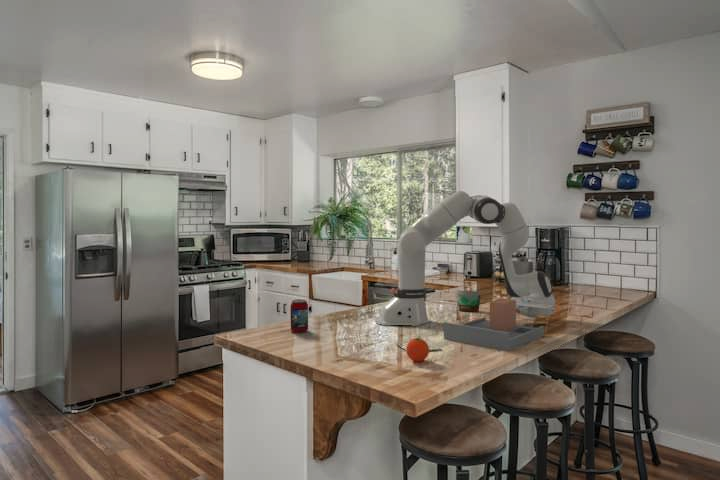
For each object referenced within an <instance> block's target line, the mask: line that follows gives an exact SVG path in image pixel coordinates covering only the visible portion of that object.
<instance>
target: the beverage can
mask: <svg viewBox="0 0 720 480" xmlns="http://www.w3.org/2000/svg"><path fill="white" fill-rule="evenodd" d="M308 330H309V304H308V301H307V299H300V298H299V299H293V300H292V301H291V303H290V331H291V332H293V333H295V334H301V333H305V332H307V331H308Z"/></svg>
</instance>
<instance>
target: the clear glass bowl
mask: <svg viewBox="0 0 720 480" xmlns="http://www.w3.org/2000/svg"><path fill="white" fill-rule="evenodd" d="M416 338H421V339H422V340H424V341H425V342H426V343H427V344H429V345H428V346H430V345H431V346H433V347H434V348H433V347H432V349H429V352H432V350H435V351H440V350H442V348H441V347H440V346H437V345H436V344H434V343H432V342H431V341H429V340H427V339H426V340H425V339H423V338H422V336H421V335H420V334H418V335H417V337H416ZM416 338H414V339H416ZM409 342H410V341H401V342H398V341H397V342H395V344H396V345H397V346H399V347H401V348H402V349H404V350H405V351H406V348H405V347H404V346H403V345H401V346H400V345H399V344H398V343H409ZM431 346H430V347H431ZM403 347H404V348H403ZM435 348H436V349H435Z"/></svg>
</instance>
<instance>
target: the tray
mask: <svg viewBox="0 0 720 480" xmlns="http://www.w3.org/2000/svg"><path fill="white" fill-rule="evenodd" d="M544 336H545V326H544V325H541V326H538V327H535V326H527V325H520V324H516V327H513V328H510V329H507V330H505V331H501V330H495V329H490V319H487V318H486V317H485V316H484V317H481V318H477V319H474V320H469V321H467V322H463V323H455V322H448V321H444V322H443V339H444V340H446V341H447V340H448V341H452V342H457V343H463V344H466V345H473V346H478V347H483V348H488V349H494V350H499V351H503V352H509V351H512V350H514V349H517V348H519V347H521V346H523V345H526V344H528V343H530V342H532V341H535V340H537V339H540V338H541V337H544Z"/></svg>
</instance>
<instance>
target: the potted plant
mask: <svg viewBox="0 0 720 480" xmlns="http://www.w3.org/2000/svg"><path fill="white" fill-rule="evenodd" d="M455 294H456V295H457V306H458V311H459V312H463V313H479V311H480V306H481V297H482V295H483V291H482V290H481V289H480V290H461V289H456V291H455Z"/></svg>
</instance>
